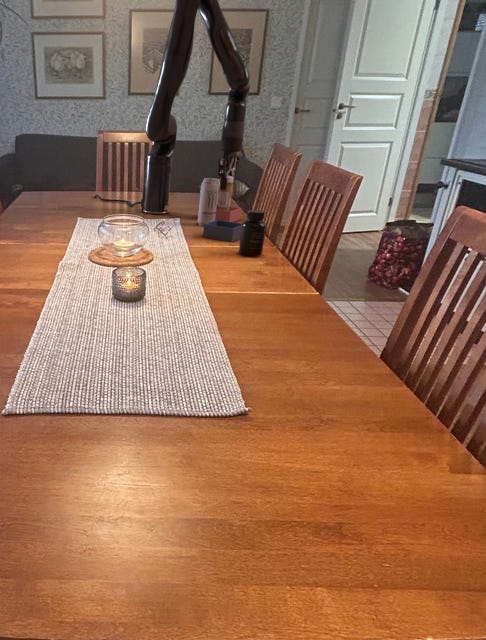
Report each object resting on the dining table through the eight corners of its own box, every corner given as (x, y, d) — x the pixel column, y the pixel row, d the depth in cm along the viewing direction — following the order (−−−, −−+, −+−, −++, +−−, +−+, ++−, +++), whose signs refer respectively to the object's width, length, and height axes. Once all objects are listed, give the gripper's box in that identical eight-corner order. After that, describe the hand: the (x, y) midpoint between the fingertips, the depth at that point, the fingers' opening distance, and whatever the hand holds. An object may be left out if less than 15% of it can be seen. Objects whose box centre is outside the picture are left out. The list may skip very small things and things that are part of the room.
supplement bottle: (263, 253, 177) (271, 210, 170) (258, 258, 171) (265, 214, 165) (241, 250, 179) (247, 208, 173) (235, 255, 174) (241, 211, 167)
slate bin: (202, 237, 193) (204, 224, 191) (215, 232, 201) (217, 219, 198) (231, 241, 189) (233, 228, 186) (243, 236, 196) (245, 224, 194)
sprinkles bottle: (231, 216, 220) (236, 176, 213) (223, 217, 217) (228, 177, 210) (221, 214, 223) (226, 175, 216) (213, 215, 220) (218, 175, 213)
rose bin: (203, 219, 219) (204, 207, 217) (215, 215, 227) (216, 204, 224) (229, 223, 215) (230, 211, 212) (239, 219, 222) (241, 208, 220)
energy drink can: (202, 227, 207) (207, 180, 199) (194, 223, 212) (199, 177, 204) (217, 226, 209) (223, 179, 201) (208, 222, 214) (214, 177, 206)
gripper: (230, 134, 213) (224, 185, 222) (213, 135, 202) (207, 189, 212) (250, 135, 209) (242, 188, 218) (234, 137, 199) (227, 192, 208)
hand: (225, 188), depth 215 cm, fingers closed on sprinkles bottle, 4 cm apart
